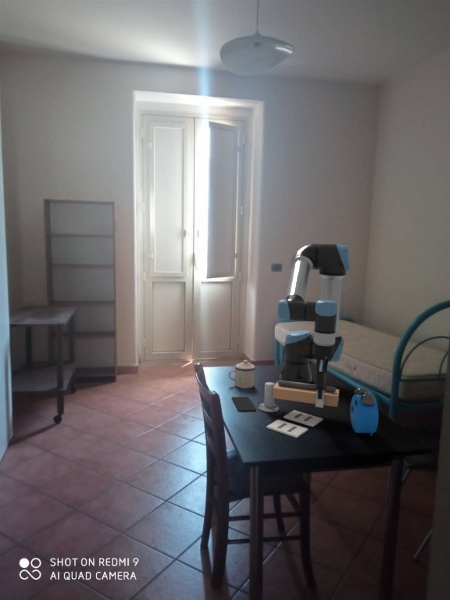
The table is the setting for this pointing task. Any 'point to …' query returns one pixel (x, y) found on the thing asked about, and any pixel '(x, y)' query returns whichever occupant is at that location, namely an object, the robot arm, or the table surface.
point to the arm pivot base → (265, 409)
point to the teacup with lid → (243, 375)
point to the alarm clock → (364, 412)
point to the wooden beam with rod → (298, 393)
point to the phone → (243, 404)
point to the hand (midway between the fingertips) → (319, 406)
